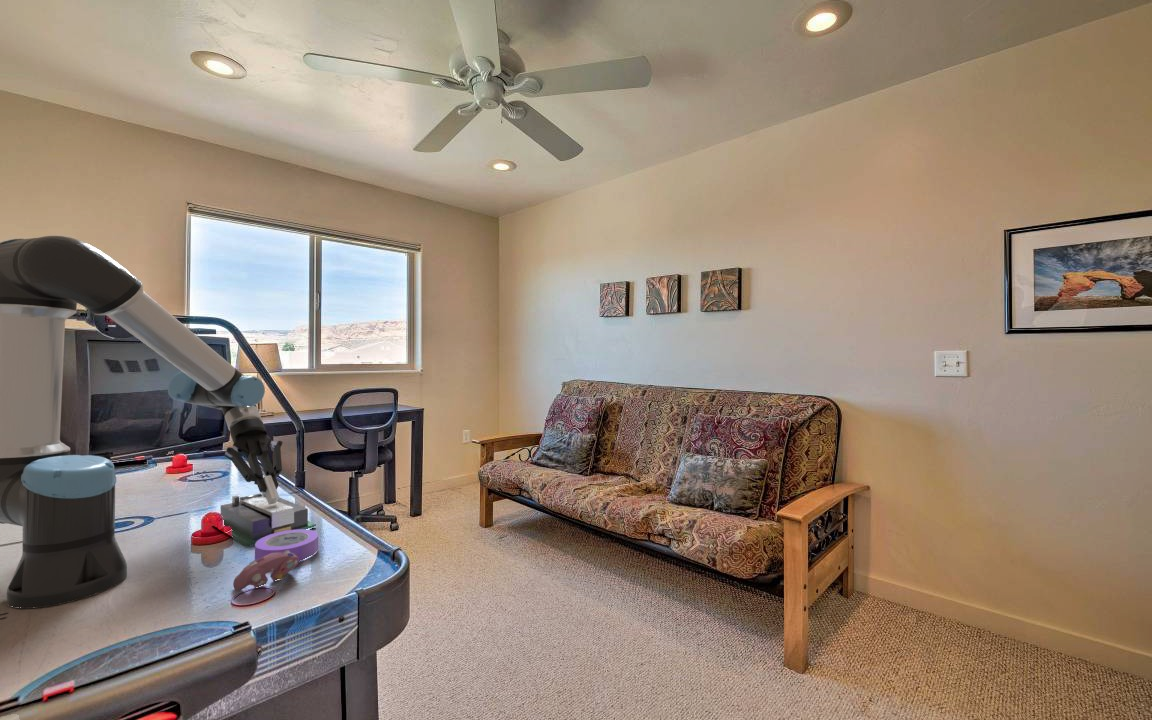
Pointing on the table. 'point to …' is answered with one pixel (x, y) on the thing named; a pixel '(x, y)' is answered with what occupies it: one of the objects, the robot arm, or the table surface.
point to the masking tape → (288, 543)
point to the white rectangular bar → (270, 509)
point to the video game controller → (266, 569)
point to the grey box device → (259, 521)
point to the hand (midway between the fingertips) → (273, 500)
